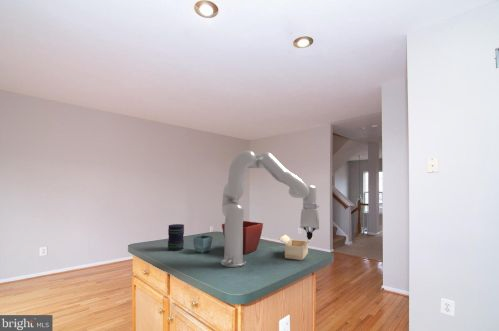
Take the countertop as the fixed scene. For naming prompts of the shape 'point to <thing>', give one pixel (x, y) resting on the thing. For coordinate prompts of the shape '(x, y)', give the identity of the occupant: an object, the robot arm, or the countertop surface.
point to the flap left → (284, 239)
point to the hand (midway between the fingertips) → (309, 239)
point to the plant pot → (249, 235)
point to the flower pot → (202, 243)
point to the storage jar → (176, 237)
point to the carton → (296, 249)
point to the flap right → (307, 241)
